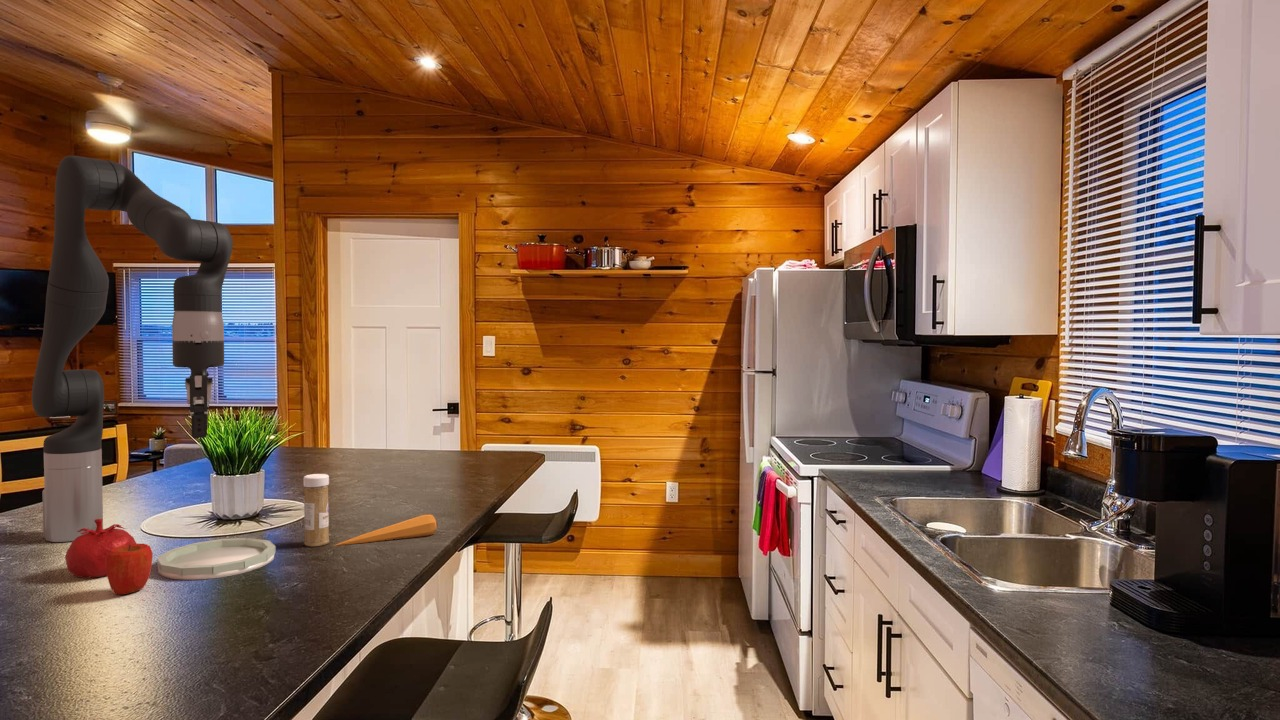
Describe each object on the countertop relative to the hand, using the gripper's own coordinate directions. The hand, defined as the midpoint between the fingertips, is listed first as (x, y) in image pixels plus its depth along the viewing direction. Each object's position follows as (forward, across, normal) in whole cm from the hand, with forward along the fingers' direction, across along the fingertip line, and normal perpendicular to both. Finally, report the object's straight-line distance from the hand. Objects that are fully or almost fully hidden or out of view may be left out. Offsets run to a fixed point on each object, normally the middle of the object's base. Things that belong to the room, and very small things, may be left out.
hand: (200, 434), depth 127 cm
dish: (+24, -5, +2) cm, 24 cm away
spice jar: (+24, -10, +19) cm, 32 cm away
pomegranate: (+24, -9, -15) cm, 30 cm away
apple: (+24, +5, -10) cm, 26 cm away
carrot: (+24, -8, +32) cm, 41 cm away
